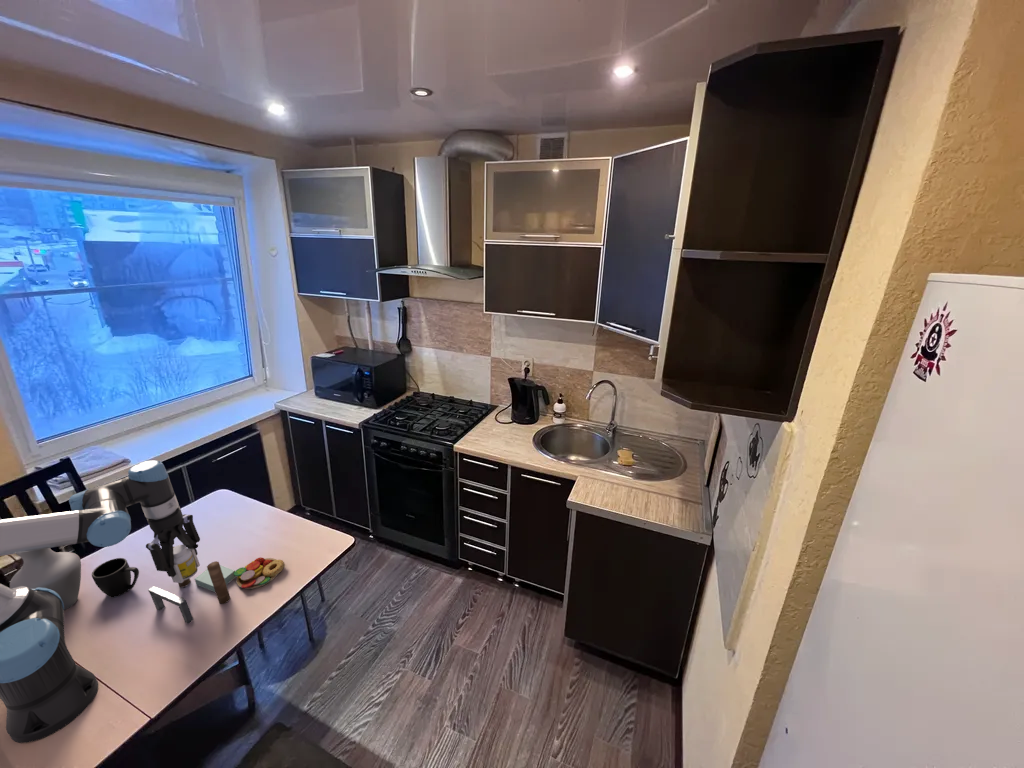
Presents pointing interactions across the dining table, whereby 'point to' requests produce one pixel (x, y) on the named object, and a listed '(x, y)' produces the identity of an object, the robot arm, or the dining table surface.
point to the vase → (50, 573)
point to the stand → (205, 578)
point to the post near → (218, 582)
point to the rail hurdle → (160, 594)
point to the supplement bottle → (184, 561)
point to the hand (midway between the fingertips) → (187, 573)
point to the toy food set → (258, 572)
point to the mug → (115, 577)
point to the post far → (184, 582)
